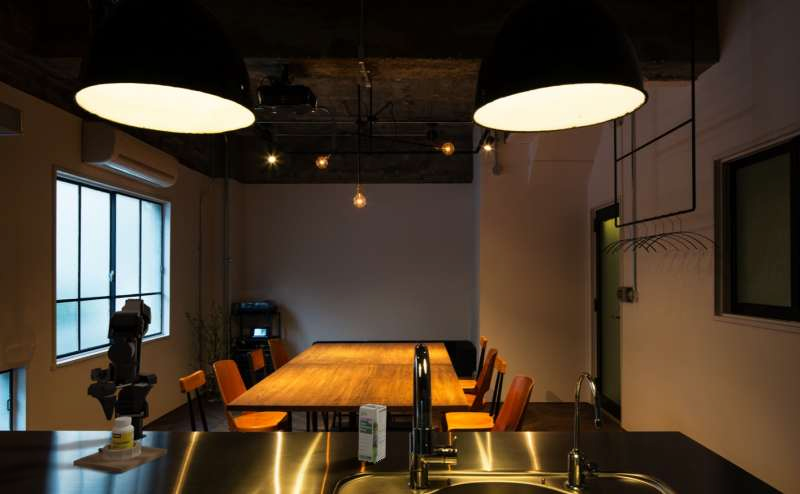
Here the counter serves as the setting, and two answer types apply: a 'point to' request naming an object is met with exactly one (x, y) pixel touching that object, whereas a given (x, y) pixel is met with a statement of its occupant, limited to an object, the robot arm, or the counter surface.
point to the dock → (119, 464)
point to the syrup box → (372, 432)
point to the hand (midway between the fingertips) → (123, 416)
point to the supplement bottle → (122, 434)
